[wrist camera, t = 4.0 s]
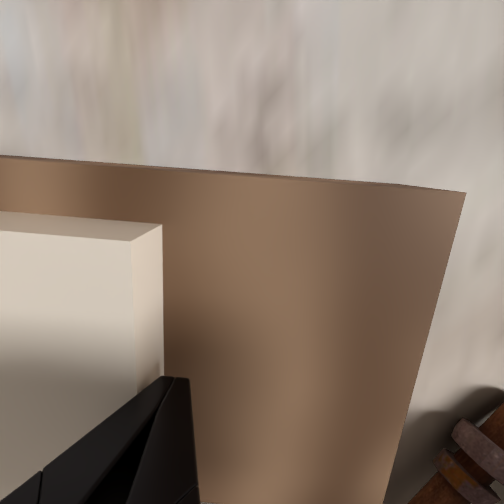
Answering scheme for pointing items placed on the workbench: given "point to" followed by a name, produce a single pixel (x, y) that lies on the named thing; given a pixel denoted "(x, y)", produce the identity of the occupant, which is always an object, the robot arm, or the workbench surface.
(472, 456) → the hammer
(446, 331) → the workbench surface
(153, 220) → the plate
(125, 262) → the cream rectangular block
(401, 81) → the workbench surface
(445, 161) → the workbench surface
